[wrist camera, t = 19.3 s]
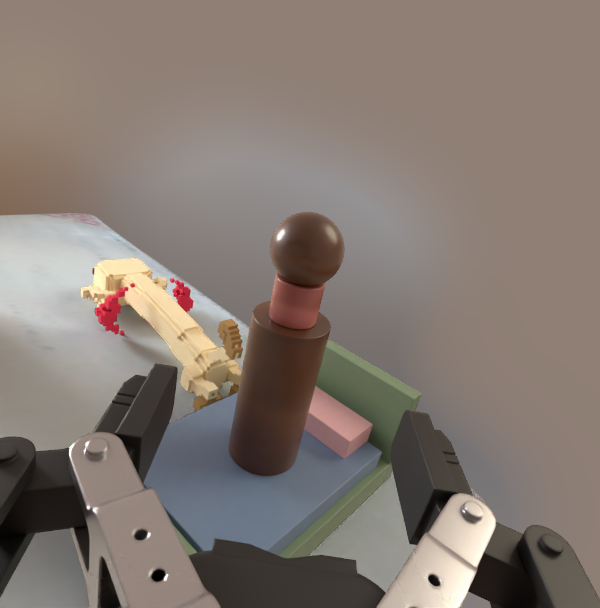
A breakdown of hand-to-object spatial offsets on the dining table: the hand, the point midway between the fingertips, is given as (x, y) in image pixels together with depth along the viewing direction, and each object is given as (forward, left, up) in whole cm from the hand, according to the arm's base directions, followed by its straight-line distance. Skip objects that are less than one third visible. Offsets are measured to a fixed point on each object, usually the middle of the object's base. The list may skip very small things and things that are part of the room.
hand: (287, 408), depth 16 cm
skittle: (-7, +8, -12) cm, 16 cm away
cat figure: (-27, +14, -15) cm, 34 cm away
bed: (-7, +8, -15) cm, 19 cm away
